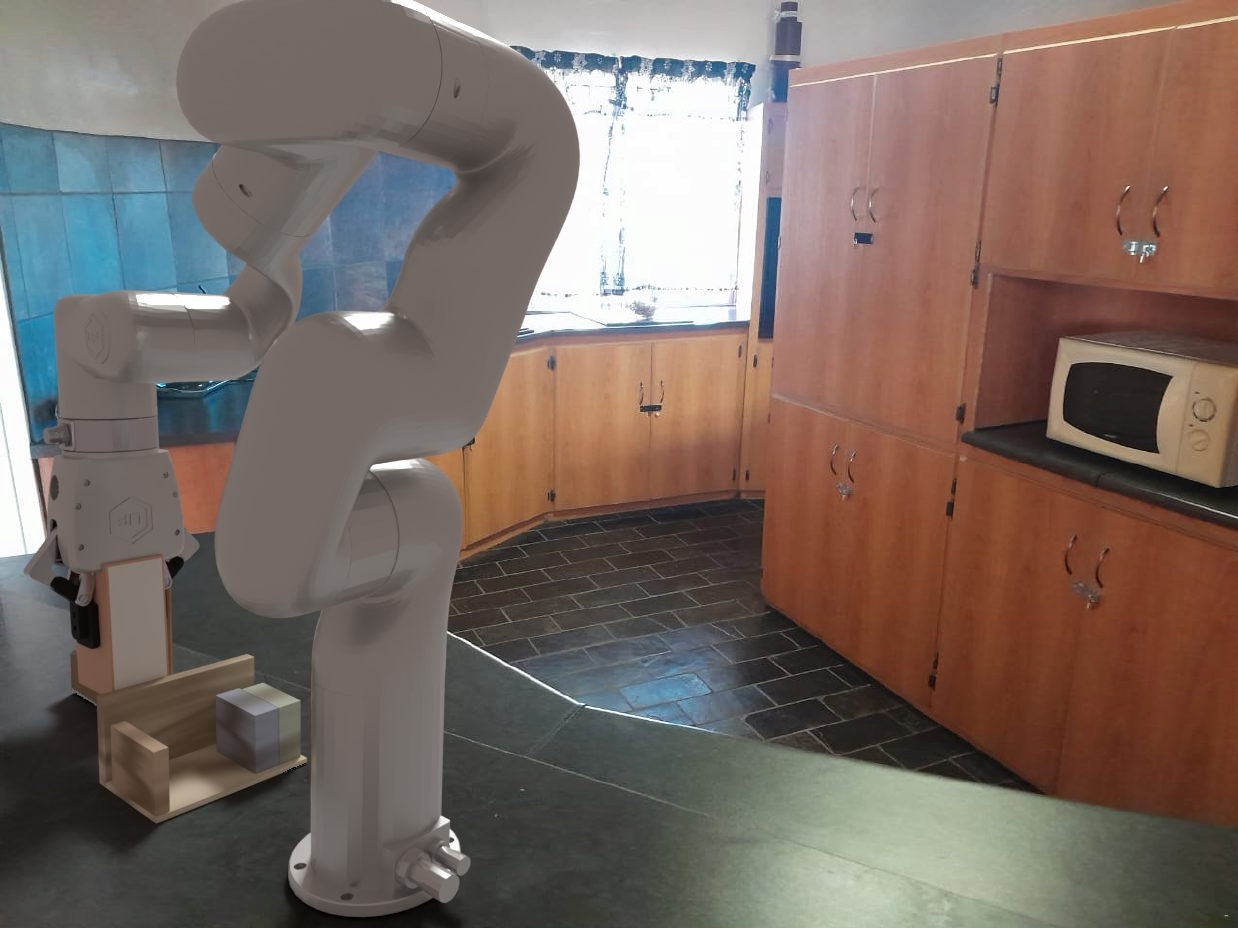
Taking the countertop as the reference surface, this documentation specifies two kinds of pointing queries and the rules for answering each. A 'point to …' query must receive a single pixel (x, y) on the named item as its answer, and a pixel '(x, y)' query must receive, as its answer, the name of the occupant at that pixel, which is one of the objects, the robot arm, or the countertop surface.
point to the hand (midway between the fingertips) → (121, 635)
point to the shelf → (195, 737)
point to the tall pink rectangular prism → (127, 626)
